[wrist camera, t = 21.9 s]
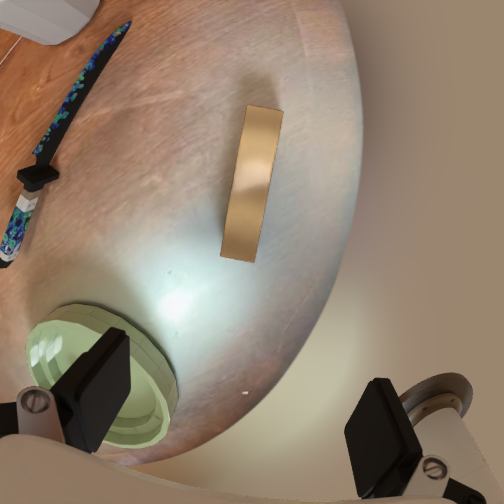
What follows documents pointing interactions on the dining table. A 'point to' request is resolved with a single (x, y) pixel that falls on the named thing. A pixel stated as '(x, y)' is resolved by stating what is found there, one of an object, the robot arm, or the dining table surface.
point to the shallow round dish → (141, 366)
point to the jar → (46, 18)
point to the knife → (53, 148)
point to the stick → (251, 182)
